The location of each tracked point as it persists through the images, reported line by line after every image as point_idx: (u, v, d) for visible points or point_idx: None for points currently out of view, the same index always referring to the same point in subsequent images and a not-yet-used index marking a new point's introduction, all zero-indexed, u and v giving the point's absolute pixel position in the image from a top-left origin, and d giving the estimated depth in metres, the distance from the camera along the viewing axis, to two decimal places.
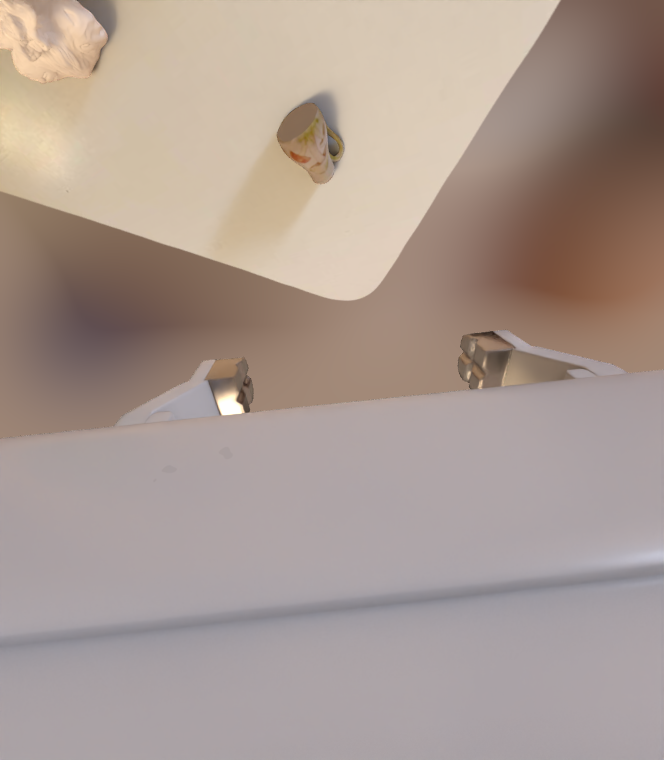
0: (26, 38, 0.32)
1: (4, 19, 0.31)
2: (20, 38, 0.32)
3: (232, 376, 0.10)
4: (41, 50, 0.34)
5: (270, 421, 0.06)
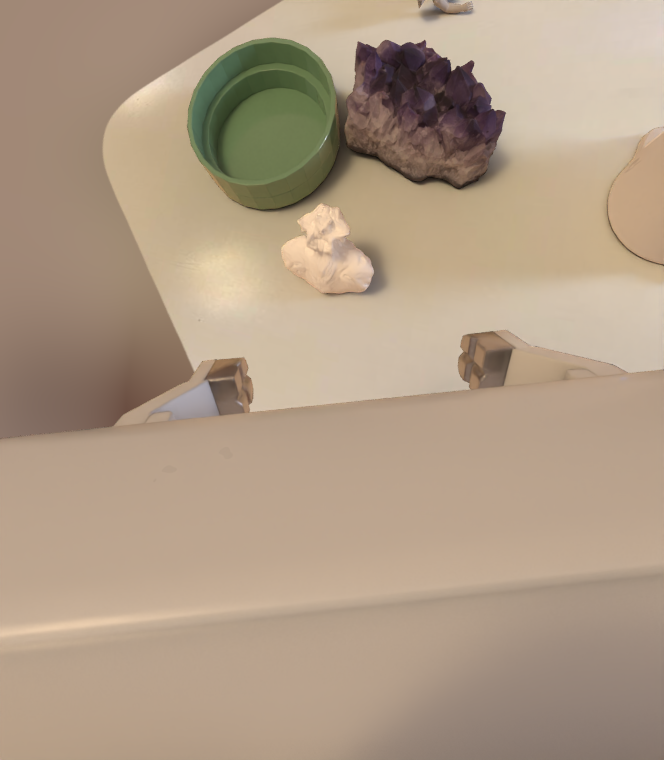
0: (323, 235, 0.32)
1: (324, 217, 0.32)
2: (321, 230, 0.32)
3: (232, 376, 0.10)
4: (321, 249, 0.34)
5: (270, 422, 0.06)
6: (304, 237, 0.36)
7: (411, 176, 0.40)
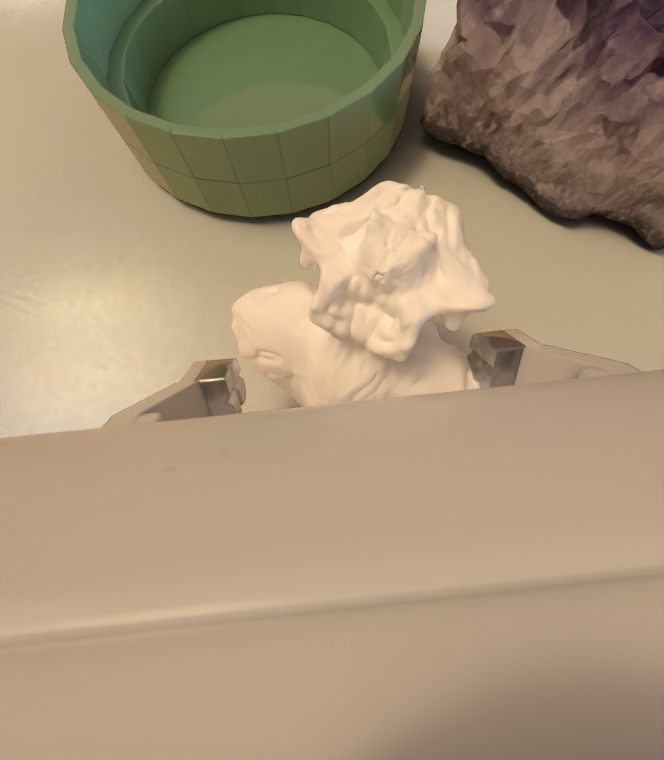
0: (384, 292, 0.08)
1: (401, 226, 0.08)
2: (385, 271, 0.07)
3: (223, 377, 0.10)
4: (361, 338, 0.09)
5: (270, 421, 0.06)
6: (304, 288, 0.12)
7: (557, 206, 0.18)
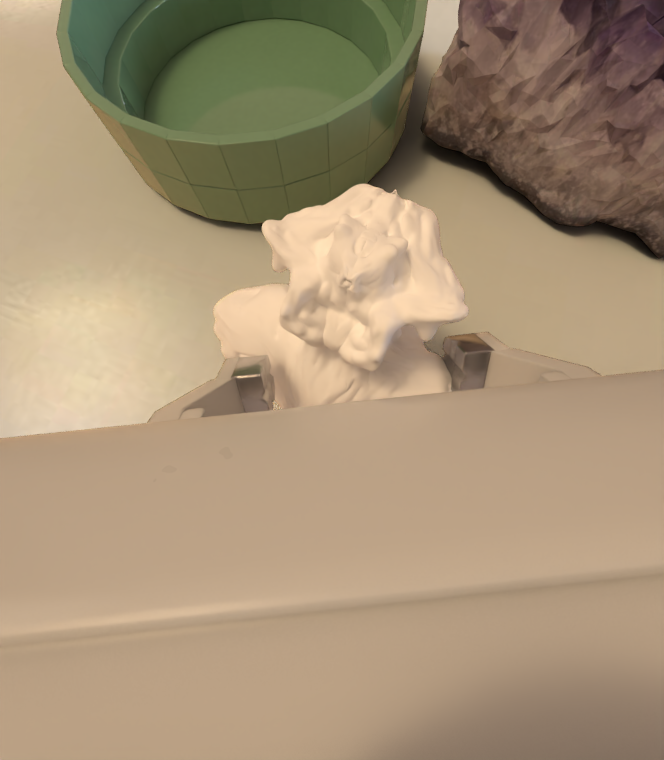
0: (354, 298, 0.08)
1: (372, 232, 0.08)
2: (352, 278, 0.07)
3: (259, 373, 0.10)
4: (334, 345, 0.09)
5: (270, 422, 0.06)
6: (284, 291, 0.12)
7: (560, 213, 0.18)
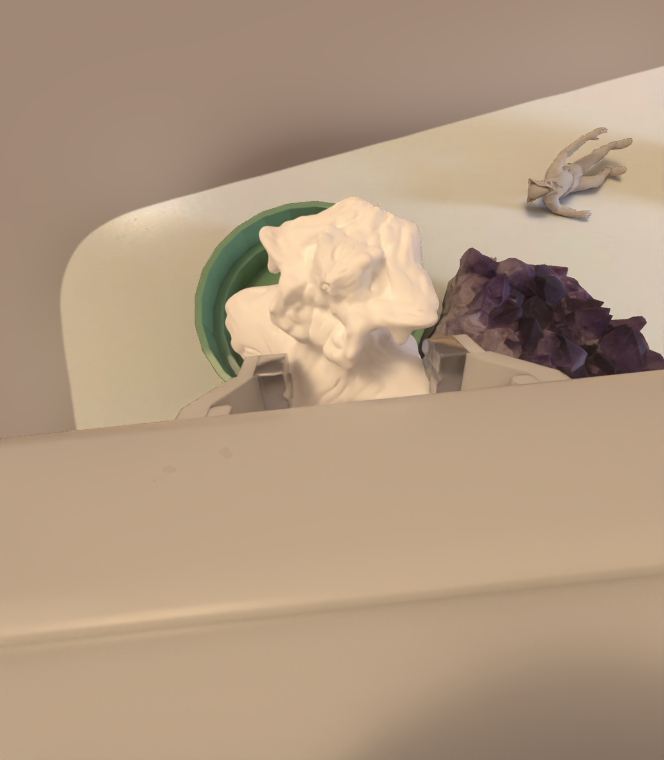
0: (334, 301, 0.09)
1: (354, 241, 0.08)
2: (329, 281, 0.08)
3: (281, 372, 0.10)
4: (318, 343, 0.10)
5: (270, 422, 0.06)
6: None
7: None
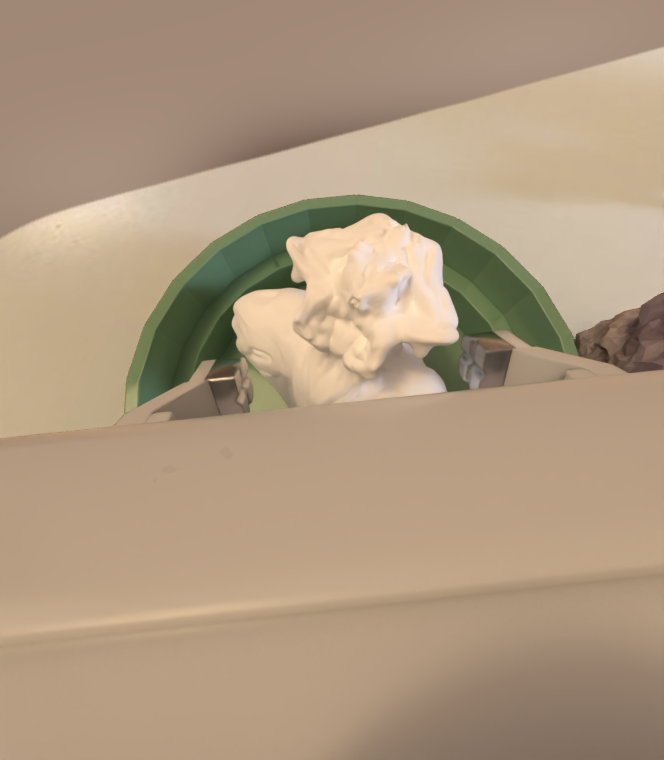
0: (360, 314, 0.09)
1: (382, 258, 0.09)
2: (359, 297, 0.08)
3: (232, 376, 0.10)
4: (338, 352, 0.10)
5: (270, 421, 0.06)
6: (300, 296, 0.13)
7: None
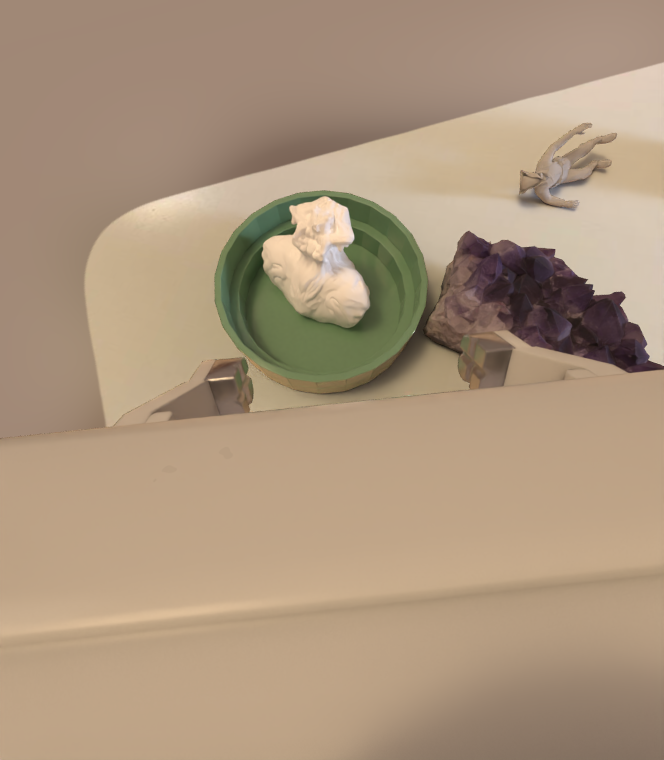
0: (317, 234, 0.24)
1: (324, 212, 0.23)
2: (315, 225, 0.23)
3: (232, 376, 0.10)
4: (310, 253, 0.25)
5: (270, 421, 0.06)
6: None
7: None
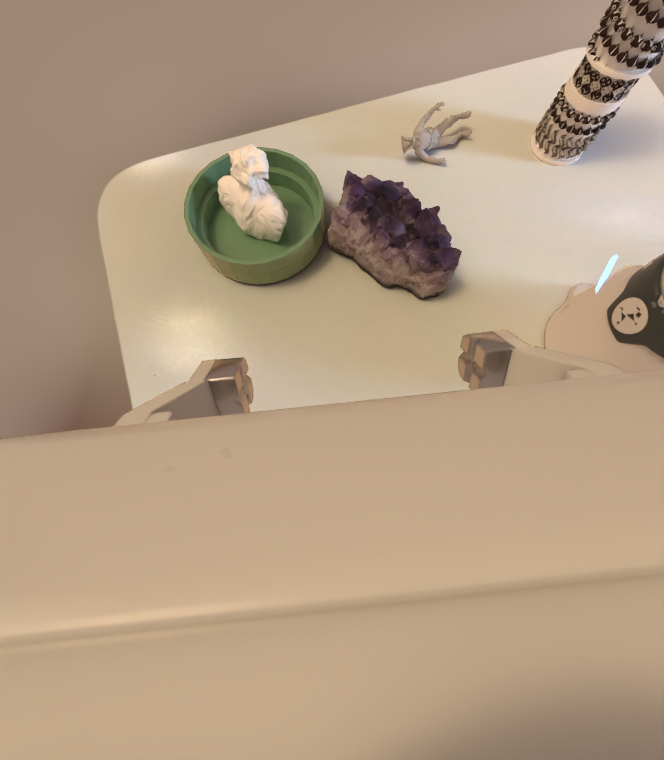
0: (244, 167, 0.38)
1: (249, 153, 0.38)
2: (242, 161, 0.38)
3: (232, 376, 0.10)
4: (242, 181, 0.39)
5: (270, 422, 0.06)
6: None
7: (381, 281, 0.44)
